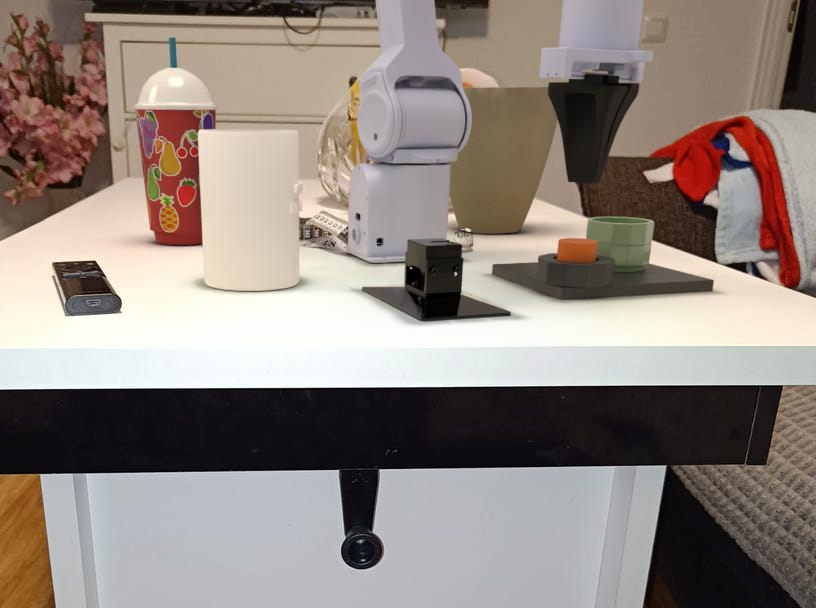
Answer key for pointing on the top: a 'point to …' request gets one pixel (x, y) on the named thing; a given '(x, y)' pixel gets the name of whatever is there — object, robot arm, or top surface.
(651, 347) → the top surface
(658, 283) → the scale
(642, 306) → the top surface
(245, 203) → the mug
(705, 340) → the top surface
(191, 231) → the smoothie
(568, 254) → the button
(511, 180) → the plant pot
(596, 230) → the bowl
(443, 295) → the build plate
